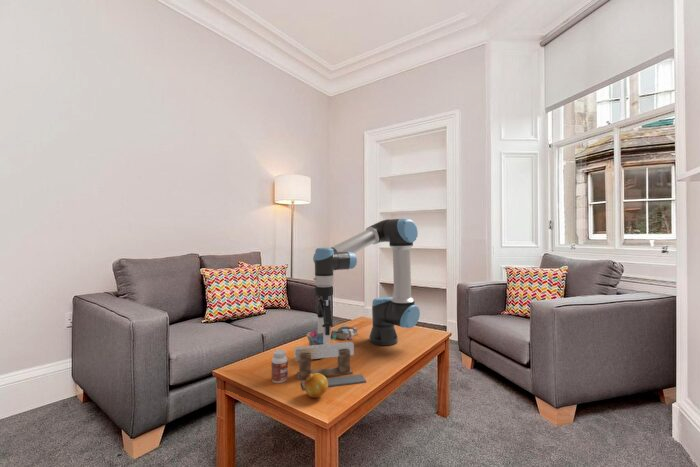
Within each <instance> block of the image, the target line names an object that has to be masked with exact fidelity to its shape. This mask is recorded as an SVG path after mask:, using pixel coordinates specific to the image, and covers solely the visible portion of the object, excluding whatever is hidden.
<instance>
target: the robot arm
mask: <svg viewBox="0 0 700 467" xmlns="http://www.w3.org/2000/svg"><path fill="white" fill-rule="evenodd" d="M418 235H419V231H418V227H417V225H416V223H415V222H414V221H413V220H412V219H409V218H403V217H402V218H392V219H383V220H381V221H378V222H376V223H374V224H372V225H369V226H367V227H366V228H365V230H364V231H363V232H360V233H358V234H355V235H354V236H351V237H350V238H348V239H345V240H343V241H342V242H340V243H337V244H335V245H334V246H331V247H317V248H315V250H314V252H315V253H314V254H313V258H312V260H313V262H314V277H313V281H314V286H315V287H314V295H315V296H316V297H317V298H318V299H317V307H316V315H317V331H318V333H323V343H324V344H325V343H326V344H332V342H331V341H332V337H331V332H332V330H331V328H332V327H333V323H332V322H333V321H332V311H331V300H330V299H329V297H332V296H334V286H333V285H334V271H341V270H348V271H349V270H352V269H354V268H355V267H356V266H357V264H358V261H357V260H358V259H357V255H356V254H355V253H357V252H359V251H361V250H363V249H365V248H367V247H369V246H370V245H377V244H379V243H386V242H387V243H388V244H389V247H390V248H391V250H392V261H393V262H392V269H393V276H392V277H393V296H382V297H377V298H376V297H375V298H374V299H373V300H372V307H371V308H372V309H371V310H372V311H371V313H372V314H371V316H372V321H371V322H372V327H371V330H370V333H369V338H368V339H369V340H368V341H369V343H371V344H374V345H377V346H392V345H396V344H397V343H398V342H399V338H398V333H397V331H396V328H395V326H397V327H400V328H403V329H412V328H414V327H416V325H417V323H418V322H419V320H420V317H421V316H420V315H421V312H420V308H419V307H418V306H417V305H416V303H415V298H413V296H412V277H411V274H412V272H411V270H412V269H411V268H412V267H411V248H412V247H413V246H414V242H416V241H417V238H418Z"/></svg>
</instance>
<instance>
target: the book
mask: <svg viewBox="0 0 700 467" xmlns="http://www.w3.org/2000/svg"><path fill="white" fill-rule="evenodd" d="M358 330H359V327H357V326H353V327H351V326H348V325H342V326H340V327H339V328H334V329H332V330H331V338H332V340H333V341H334V340H337V339H339V340H343V341H348V340H349V341H351V340H353V338H354V337H356V336H358V335H359V333H358Z"/></svg>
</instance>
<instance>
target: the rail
mask: <svg viewBox="0 0 700 467" xmlns="http://www.w3.org/2000/svg"><path fill="white" fill-rule="evenodd" d="M293 350H294V351H293V352H294V361H295V362H298V361H300V355H302V354H311V360H319V358H320V359H326V358H327V359H328V358H338V356H340V351H342V350H350V356H355V344H354V342H353V341H346V342H345V341H344V342H334V343H332V342H331V343H326V344H322V345H311V346H309V345H301V346H294V349H293Z"/></svg>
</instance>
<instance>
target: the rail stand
mask: <svg viewBox="0 0 700 467" xmlns="http://www.w3.org/2000/svg"><path fill="white" fill-rule="evenodd" d="M350 357H351V355H350V350H342V351H340V356H338V357H337V366H334V367H328V368H327V367H325V368H319V369H312V364H311V363H312V362H311V361H312V359H311V354H302V355H300V361H299V362H298V364H299V366H298V367H299V368H298V369H299V371H296V376H297V380H298V381H300V380H306V377H307V376H308V375H309V374H313V373H320V374H322V375H324V376H325V377H326V378H327V377H334V376H336V377H337V376H342V375H343V376H345V375H350V374H351V375H354V374H353V370H352V369H351V358H350Z"/></svg>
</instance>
